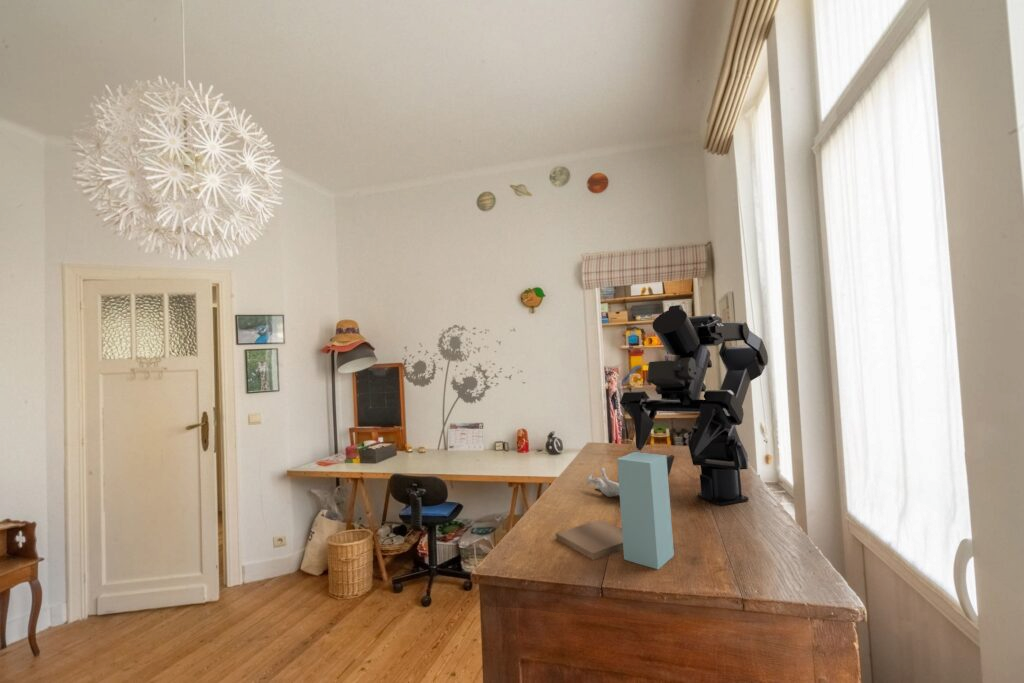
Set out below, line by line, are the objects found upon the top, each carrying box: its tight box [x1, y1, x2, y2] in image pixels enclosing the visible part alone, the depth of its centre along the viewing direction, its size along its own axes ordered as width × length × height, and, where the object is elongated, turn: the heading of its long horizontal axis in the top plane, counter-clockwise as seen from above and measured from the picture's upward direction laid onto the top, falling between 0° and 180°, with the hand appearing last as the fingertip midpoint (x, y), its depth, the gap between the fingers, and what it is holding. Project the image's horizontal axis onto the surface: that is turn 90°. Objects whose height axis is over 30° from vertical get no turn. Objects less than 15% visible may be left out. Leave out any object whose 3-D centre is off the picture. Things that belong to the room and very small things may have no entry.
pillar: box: [616, 451, 675, 570], centre depth 63 cm, size 5×5×14 cm
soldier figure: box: [586, 467, 620, 498], centre depth 90 cm, size 8×5×12 cm
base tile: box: [555, 519, 623, 561], centre depth 69 cm, size 9×9×2 cm
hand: (665, 451), depth 69 cm, fingers open, 9 cm apart
